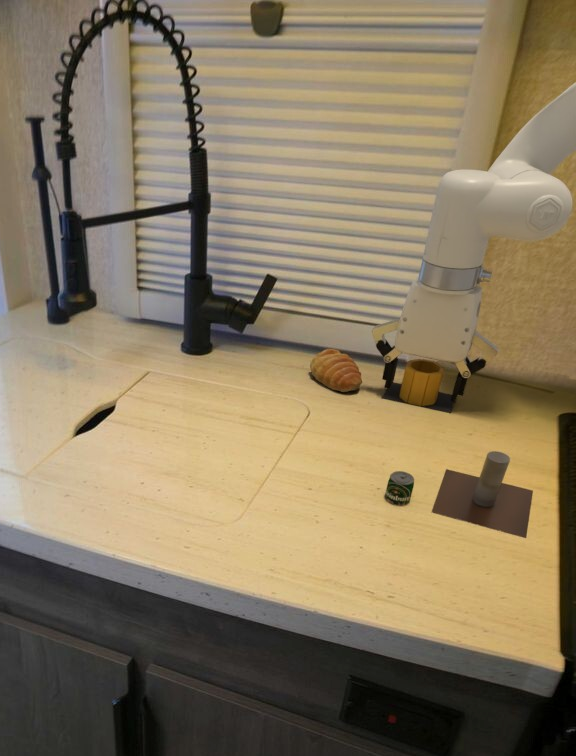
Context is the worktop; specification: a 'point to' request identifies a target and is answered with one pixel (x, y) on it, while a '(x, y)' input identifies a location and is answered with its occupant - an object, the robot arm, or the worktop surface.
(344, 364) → the pastry
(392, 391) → the mat
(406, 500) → the beer can
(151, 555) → the worktop surface
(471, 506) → the stand
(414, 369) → the sleeve
